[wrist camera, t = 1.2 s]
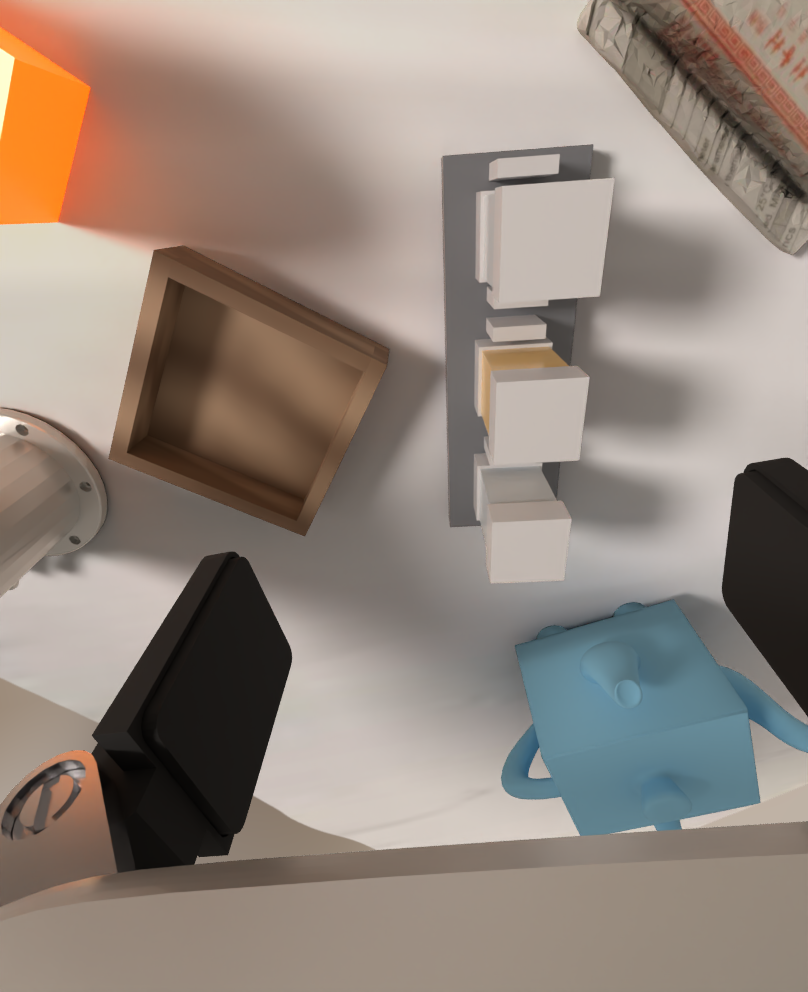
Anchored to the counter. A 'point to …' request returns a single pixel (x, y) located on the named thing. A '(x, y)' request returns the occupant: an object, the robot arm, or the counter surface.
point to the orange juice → (35, 132)
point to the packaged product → (722, 94)
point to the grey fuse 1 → (543, 239)
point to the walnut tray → (241, 391)
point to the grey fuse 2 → (520, 522)
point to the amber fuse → (529, 401)
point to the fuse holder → (491, 302)
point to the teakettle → (639, 723)
